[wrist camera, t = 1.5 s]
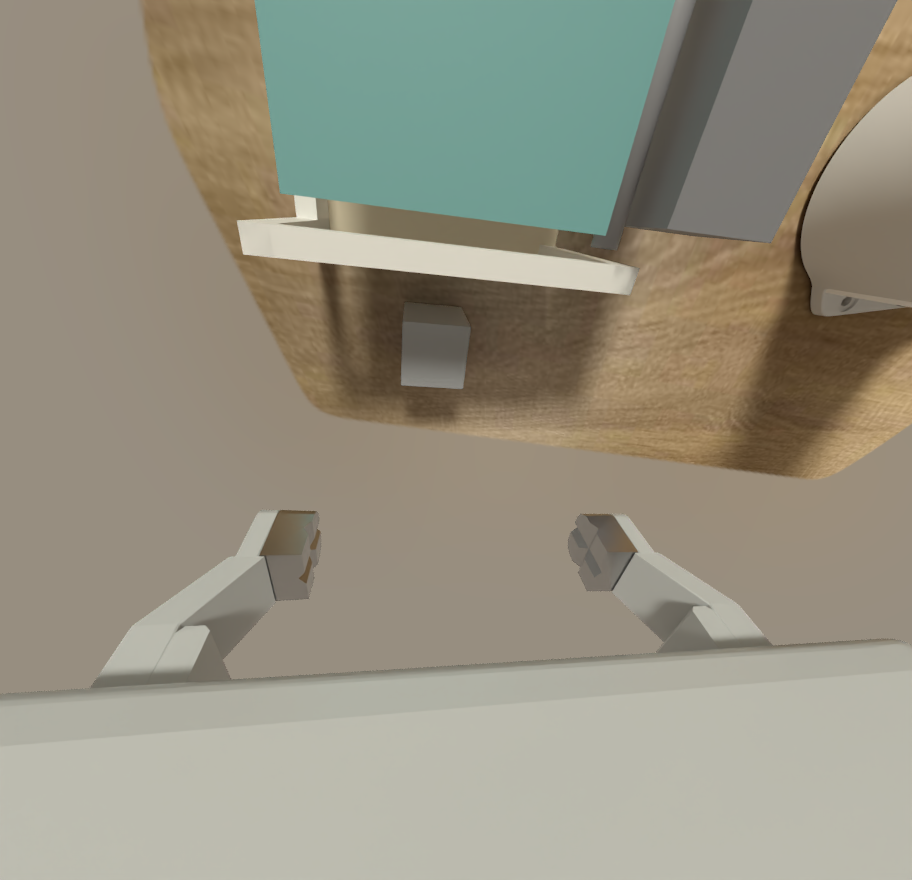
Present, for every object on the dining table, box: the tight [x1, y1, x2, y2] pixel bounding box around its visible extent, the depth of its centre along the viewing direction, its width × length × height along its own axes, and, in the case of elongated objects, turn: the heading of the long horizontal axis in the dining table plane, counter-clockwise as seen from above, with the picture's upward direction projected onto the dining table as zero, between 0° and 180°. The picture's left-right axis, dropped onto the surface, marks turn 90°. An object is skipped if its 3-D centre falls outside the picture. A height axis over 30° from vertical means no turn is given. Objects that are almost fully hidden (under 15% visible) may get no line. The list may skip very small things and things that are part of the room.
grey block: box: [401, 302, 471, 389], centre depth 27 cm, size 5×5×6 cm
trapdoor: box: [255, 0, 897, 250], centre depth 12 cm, size 20×14×5 cm
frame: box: [237, 195, 640, 295], centre depth 16 cm, size 18×18×12 cm
